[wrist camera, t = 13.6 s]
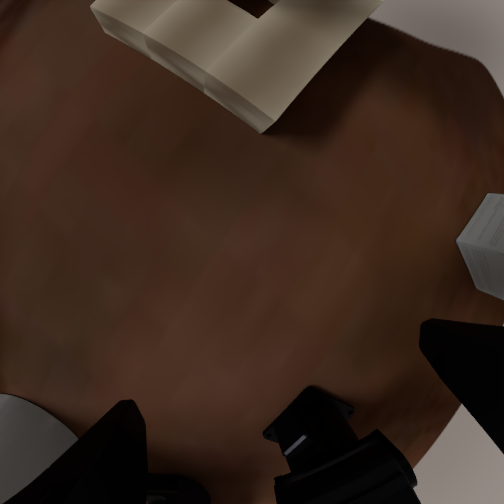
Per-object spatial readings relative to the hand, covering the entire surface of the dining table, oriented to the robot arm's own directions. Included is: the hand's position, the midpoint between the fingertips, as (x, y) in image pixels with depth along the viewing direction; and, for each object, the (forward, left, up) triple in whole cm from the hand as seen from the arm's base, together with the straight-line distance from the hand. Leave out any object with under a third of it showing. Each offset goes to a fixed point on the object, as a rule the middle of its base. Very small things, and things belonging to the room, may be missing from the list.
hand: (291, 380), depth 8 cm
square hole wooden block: (+11, -15, -13) cm, 23 cm away
